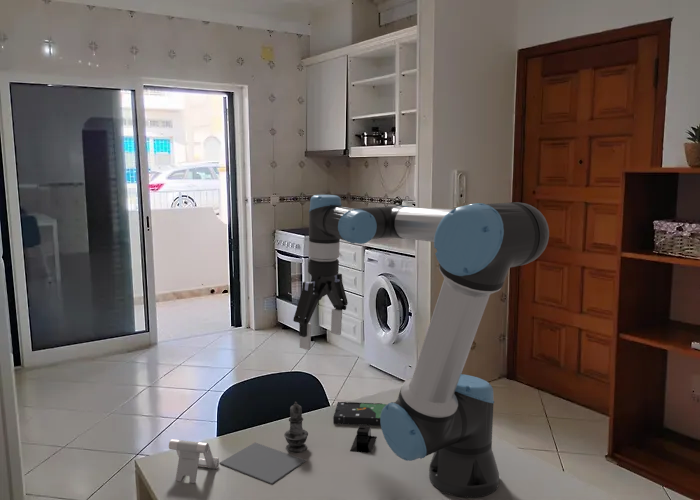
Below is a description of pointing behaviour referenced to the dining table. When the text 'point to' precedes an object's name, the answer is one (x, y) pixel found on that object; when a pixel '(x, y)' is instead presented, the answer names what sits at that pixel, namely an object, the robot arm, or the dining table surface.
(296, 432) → the dark grey turned piece
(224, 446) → the dining table surface
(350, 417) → the disk drive
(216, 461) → the portable electronic device stand
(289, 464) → the mat
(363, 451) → the black boxy piece
